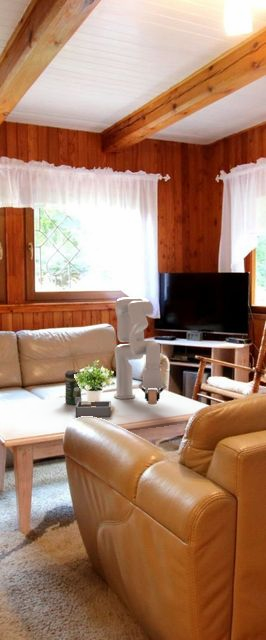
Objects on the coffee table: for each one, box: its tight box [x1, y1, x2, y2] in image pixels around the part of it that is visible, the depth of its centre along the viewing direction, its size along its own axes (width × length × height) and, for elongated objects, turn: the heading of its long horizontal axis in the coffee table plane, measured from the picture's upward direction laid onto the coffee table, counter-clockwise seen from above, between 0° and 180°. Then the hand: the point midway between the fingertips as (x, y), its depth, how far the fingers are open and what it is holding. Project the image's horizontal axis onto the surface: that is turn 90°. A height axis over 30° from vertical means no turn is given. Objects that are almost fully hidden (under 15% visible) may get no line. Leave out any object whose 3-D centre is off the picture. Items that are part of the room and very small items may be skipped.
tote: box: [75, 400, 112, 418], centre depth 278 cm, size 14×18×5 cm
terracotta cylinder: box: [147, 388, 158, 406], centre depth 280 cm, size 5×5×7 cm
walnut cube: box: [81, 402, 91, 407], centre depth 278 cm, size 5×5×5 cm
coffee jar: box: [64, 369, 82, 406], centre depth 302 cm, size 10×8×19 cm
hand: (152, 400), depth 280 cm, fingers closed on terracotta cylinder, 5 cm apart
